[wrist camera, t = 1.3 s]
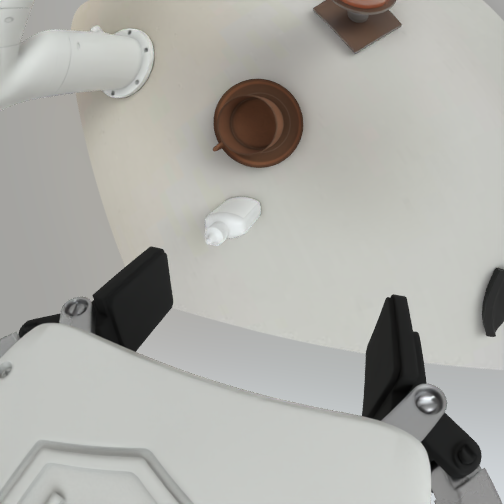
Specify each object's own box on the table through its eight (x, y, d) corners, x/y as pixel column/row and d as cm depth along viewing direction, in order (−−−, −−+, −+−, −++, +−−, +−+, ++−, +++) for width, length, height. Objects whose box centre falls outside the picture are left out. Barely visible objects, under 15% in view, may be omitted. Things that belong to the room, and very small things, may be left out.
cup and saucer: (269, 181, 40) (256, 194, 35) (204, 131, 39) (182, 137, 34) (323, 115, 34) (319, 116, 28) (250, 64, 33) (233, 57, 28)
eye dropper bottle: (233, 185, 42) (194, 214, 32) (266, 204, 42) (237, 240, 32) (222, 209, 44) (182, 243, 34) (253, 228, 44) (222, 268, 34)
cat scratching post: (313, 11, 27) (298, -25, 17) (359, -16, 23) (360, -58, 13) (354, 54, 28) (358, 30, 18) (400, 26, 24) (420, -4, 14)
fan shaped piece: (466, 330, 40) (468, 336, 39) (495, 264, 34) (499, 269, 32) (498, 332, 38) (501, 338, 36) (528, 271, 31) (532, 276, 30)
